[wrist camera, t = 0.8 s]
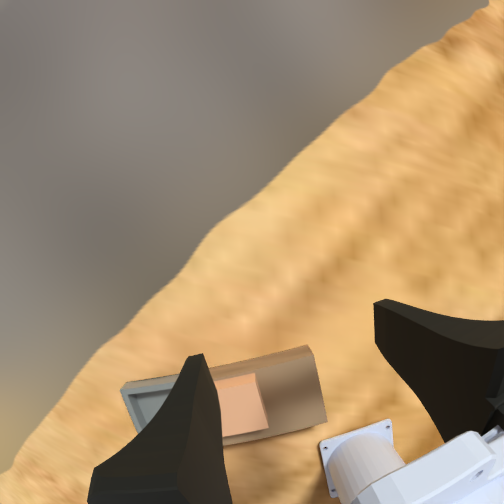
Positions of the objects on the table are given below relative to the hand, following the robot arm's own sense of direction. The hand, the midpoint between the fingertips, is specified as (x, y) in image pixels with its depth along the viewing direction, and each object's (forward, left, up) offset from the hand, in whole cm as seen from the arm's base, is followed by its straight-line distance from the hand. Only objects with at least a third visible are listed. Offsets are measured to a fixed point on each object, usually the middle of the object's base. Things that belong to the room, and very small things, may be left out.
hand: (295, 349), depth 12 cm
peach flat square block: (-8, +5, -13) cm, 16 cm away
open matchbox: (-9, +3, -16) cm, 19 cm away
